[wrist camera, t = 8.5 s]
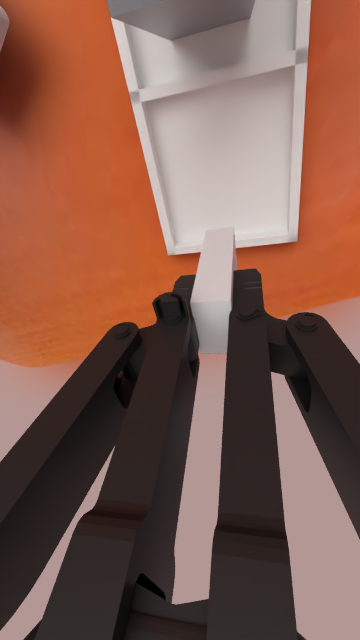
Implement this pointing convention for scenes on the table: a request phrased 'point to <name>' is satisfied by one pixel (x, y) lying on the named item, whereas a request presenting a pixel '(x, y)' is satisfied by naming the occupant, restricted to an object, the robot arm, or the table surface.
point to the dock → (218, 113)
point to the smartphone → (3, 25)
